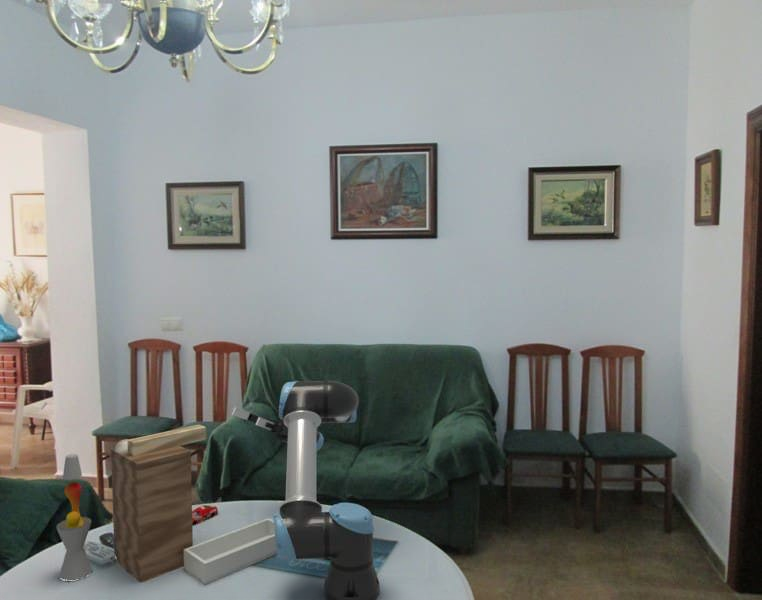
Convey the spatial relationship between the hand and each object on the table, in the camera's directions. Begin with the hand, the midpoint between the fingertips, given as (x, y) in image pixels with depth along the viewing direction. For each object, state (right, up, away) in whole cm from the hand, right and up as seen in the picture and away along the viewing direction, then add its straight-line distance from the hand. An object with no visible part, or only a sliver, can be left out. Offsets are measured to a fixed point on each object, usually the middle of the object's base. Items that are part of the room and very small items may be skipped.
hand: (245, 415), depth 201 cm
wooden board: (-19, -6, -17) cm, 27 cm away
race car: (-18, -39, +11) cm, 44 cm away
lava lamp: (-43, -41, -26) cm, 65 cm away
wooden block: (-23, -40, -19) cm, 50 cm away
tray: (+2, -40, -17) cm, 43 cm away
